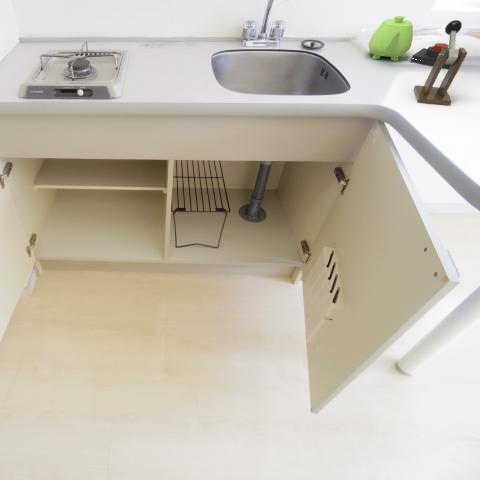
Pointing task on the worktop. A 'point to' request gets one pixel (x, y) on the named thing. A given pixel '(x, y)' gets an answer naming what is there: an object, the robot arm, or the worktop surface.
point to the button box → (428, 57)
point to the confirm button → (439, 46)
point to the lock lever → (452, 40)
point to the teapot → (392, 38)
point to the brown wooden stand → (440, 93)
